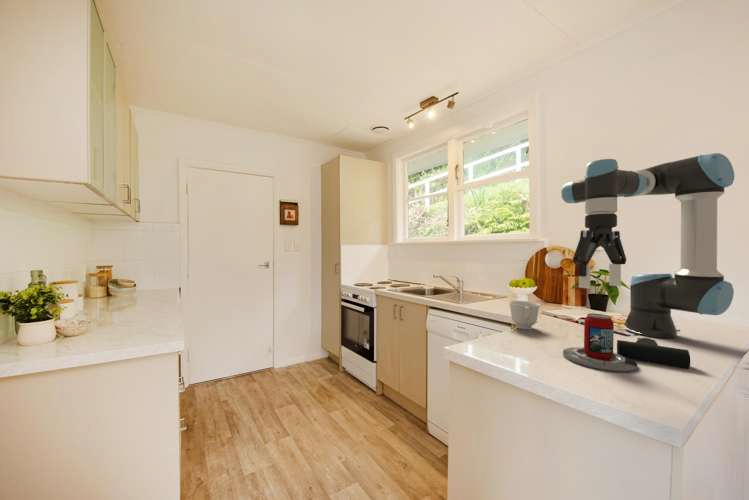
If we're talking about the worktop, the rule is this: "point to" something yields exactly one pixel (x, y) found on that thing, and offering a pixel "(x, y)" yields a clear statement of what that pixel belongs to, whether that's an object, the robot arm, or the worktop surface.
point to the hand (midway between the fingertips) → (600, 287)
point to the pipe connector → (653, 352)
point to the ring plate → (600, 361)
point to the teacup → (524, 313)
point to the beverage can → (598, 336)
